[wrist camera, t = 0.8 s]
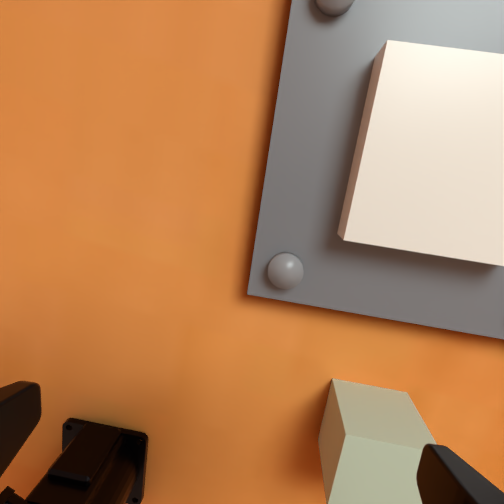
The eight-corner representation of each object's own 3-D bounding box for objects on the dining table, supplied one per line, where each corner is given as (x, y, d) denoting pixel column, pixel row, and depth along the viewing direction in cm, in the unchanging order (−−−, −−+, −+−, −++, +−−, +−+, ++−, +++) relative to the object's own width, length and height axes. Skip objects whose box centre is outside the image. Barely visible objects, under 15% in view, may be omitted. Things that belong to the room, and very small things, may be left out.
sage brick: (388, 452, 23) (416, 526, 18) (317, 438, 23) (326, 507, 18) (406, 391, 22) (442, 453, 17) (332, 377, 22) (345, 434, 17)
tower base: (537, 336, 20) (590, 368, 16) (249, 286, 21) (242, 307, 17) (669, 1, 15) (778, -49, 12) (299, -40, 17) (303, -96, 13)
